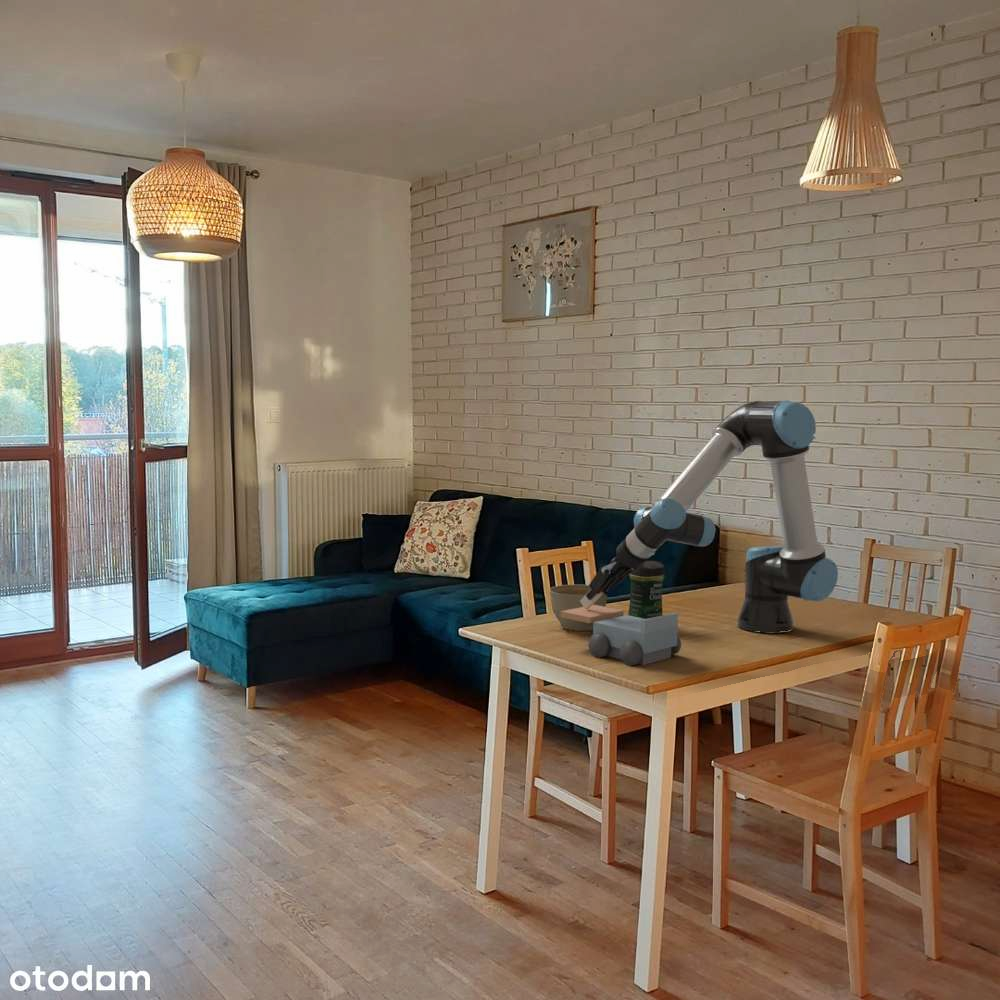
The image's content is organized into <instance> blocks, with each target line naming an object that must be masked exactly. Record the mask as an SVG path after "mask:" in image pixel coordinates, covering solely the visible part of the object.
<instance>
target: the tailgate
mask: <svg viewBox="0 0 1000 1000" xmlns="http://www.w3.org/2000/svg"><path fill="white" fill-rule="evenodd" d="M620 616H625V611H624V610H623V609H618V608H612V607H608V606H605V607H603V606H598V605H592V606H591V607H590V608H589V609H585V608H584V607H580V608H575V609H570V610H565V611H561V617H563V618H568V619H572V620H577V621H582V622H586V623H593V622H597V621H601V620H606V619H611V618H616V617H620Z"/></svg>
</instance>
